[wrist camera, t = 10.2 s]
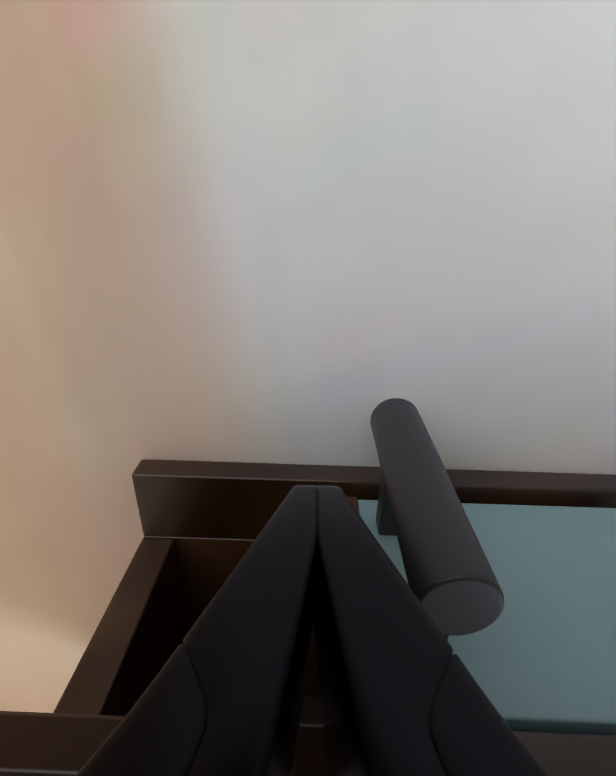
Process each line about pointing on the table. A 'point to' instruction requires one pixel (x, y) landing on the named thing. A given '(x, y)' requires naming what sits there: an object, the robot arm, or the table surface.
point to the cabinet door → (503, 583)
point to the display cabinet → (206, 576)
